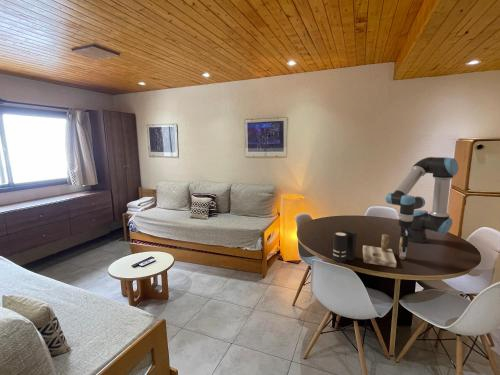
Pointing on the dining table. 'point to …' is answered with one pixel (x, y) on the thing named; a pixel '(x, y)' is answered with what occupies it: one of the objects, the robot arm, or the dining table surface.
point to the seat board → (379, 254)
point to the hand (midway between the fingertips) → (402, 254)
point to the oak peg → (400, 250)
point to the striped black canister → (344, 246)
